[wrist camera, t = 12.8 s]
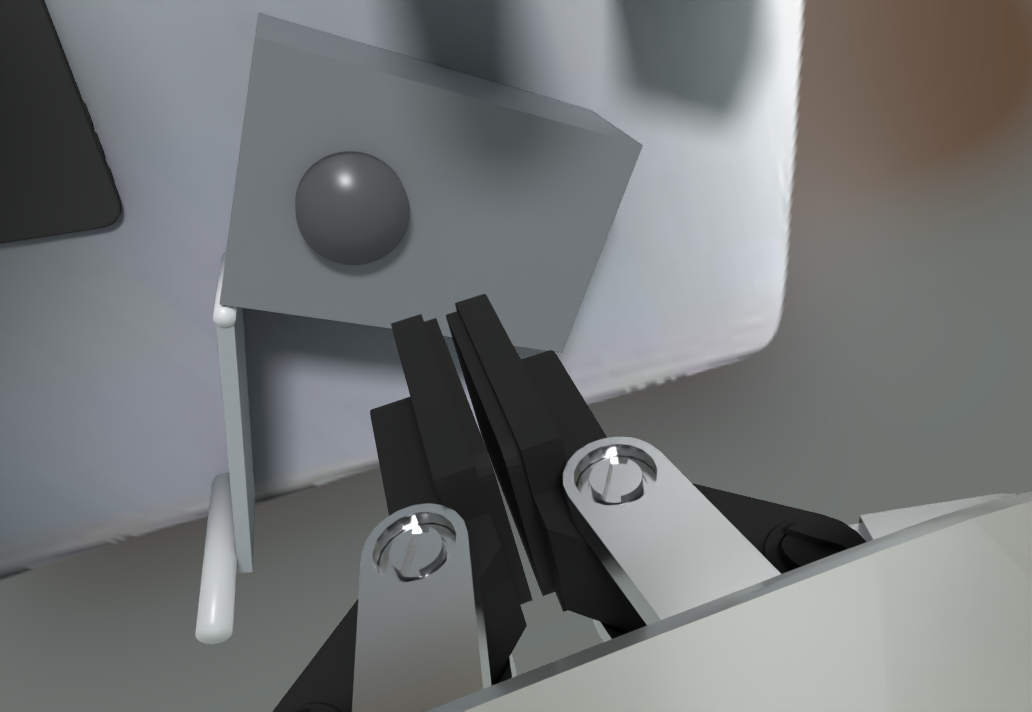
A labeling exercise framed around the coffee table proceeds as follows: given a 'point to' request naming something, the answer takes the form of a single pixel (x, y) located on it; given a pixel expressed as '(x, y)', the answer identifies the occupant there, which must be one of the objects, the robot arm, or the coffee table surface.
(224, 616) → the side door
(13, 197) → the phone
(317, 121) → the cabinet body
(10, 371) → the coffee table surface
